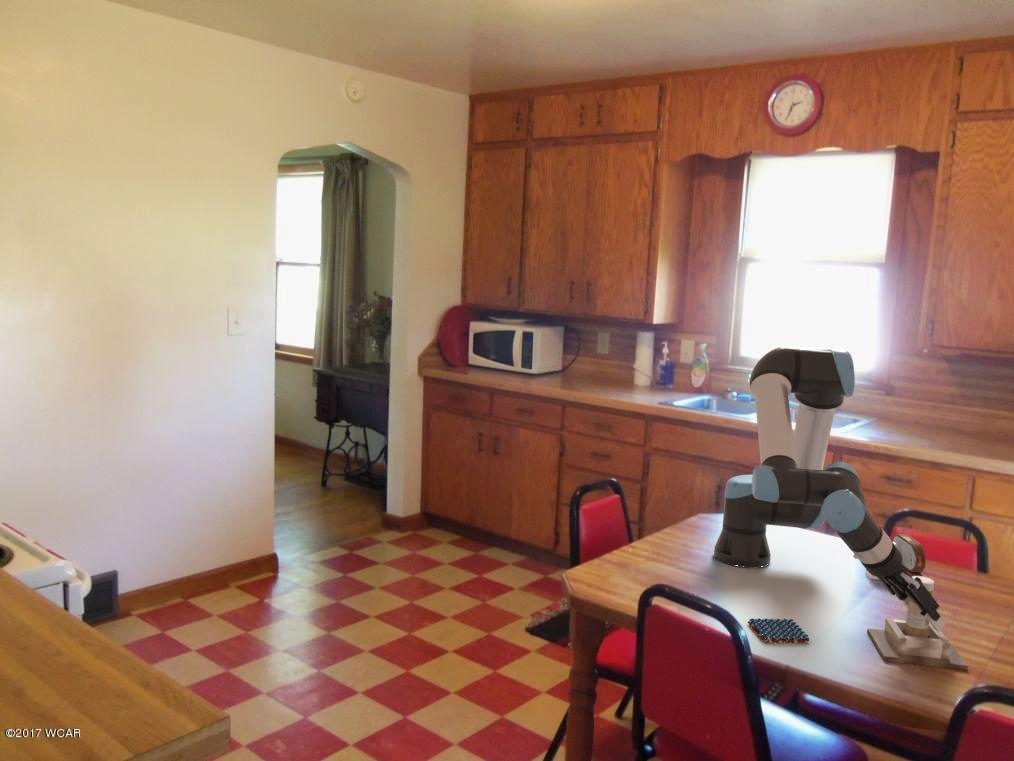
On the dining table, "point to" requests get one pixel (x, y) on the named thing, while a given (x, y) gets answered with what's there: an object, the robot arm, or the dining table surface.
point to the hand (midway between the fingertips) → (932, 621)
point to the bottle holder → (915, 647)
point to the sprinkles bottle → (918, 614)
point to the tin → (910, 552)
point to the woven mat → (778, 630)
